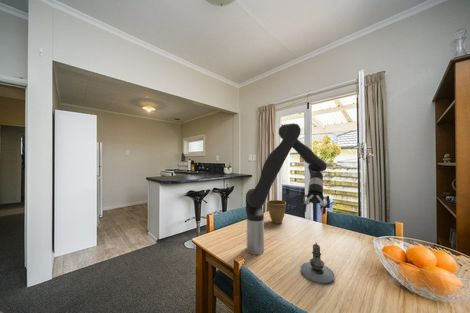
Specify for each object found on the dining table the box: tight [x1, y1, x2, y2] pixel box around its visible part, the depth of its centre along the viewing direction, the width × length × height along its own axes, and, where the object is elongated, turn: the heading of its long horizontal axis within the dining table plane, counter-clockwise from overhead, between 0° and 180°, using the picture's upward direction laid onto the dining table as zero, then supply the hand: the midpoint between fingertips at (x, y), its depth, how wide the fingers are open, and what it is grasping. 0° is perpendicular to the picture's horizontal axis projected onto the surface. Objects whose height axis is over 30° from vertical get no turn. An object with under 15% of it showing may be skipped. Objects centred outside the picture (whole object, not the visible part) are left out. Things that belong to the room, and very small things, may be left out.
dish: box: [300, 261, 335, 285], centre depth 75 cm, size 13×13×1 cm
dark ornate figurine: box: [308, 242, 325, 274], centre depth 75 cm, size 6×6×12 cm
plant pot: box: [266, 199, 287, 224], centre depth 138 cm, size 15×15×16 cm
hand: (314, 212), depth 88 cm, fingers open, 8 cm apart
